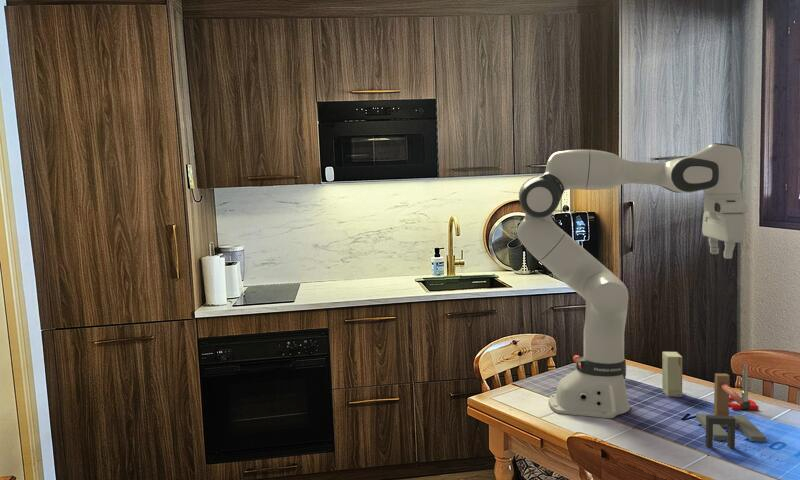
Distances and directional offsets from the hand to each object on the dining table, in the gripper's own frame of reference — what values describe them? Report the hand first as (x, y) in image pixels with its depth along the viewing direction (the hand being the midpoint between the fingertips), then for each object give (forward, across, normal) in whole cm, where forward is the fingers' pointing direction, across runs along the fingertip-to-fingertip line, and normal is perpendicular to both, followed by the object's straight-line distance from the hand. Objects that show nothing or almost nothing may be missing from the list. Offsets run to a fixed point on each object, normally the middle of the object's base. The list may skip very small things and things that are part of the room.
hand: (720, 256), depth 164 cm
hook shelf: (+44, +11, 0) cm, 45 cm away
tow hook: (+44, -7, +9) cm, 45 cm away
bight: (+44, +22, -7) cm, 49 cm away
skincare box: (+44, -15, -7) cm, 47 cm away
